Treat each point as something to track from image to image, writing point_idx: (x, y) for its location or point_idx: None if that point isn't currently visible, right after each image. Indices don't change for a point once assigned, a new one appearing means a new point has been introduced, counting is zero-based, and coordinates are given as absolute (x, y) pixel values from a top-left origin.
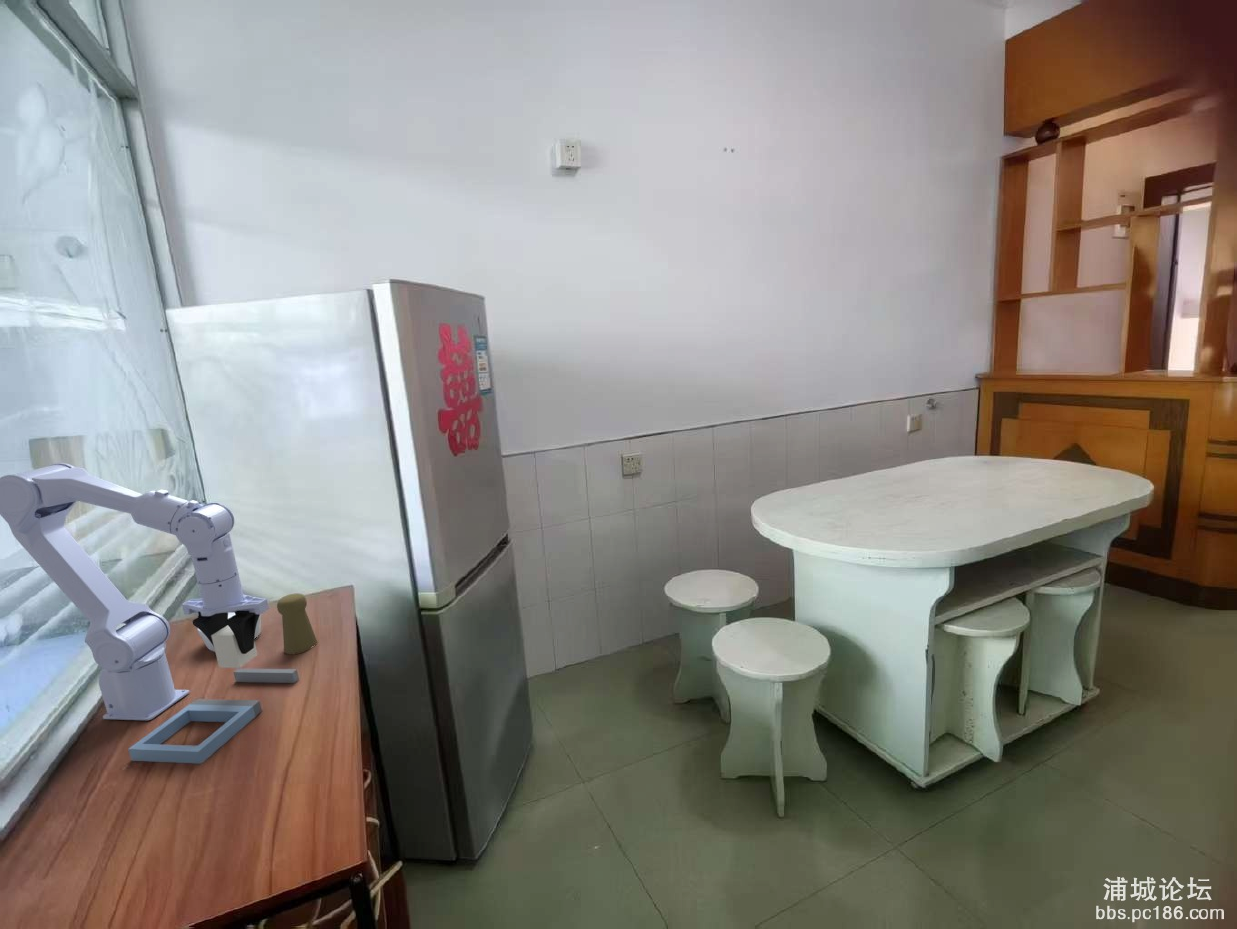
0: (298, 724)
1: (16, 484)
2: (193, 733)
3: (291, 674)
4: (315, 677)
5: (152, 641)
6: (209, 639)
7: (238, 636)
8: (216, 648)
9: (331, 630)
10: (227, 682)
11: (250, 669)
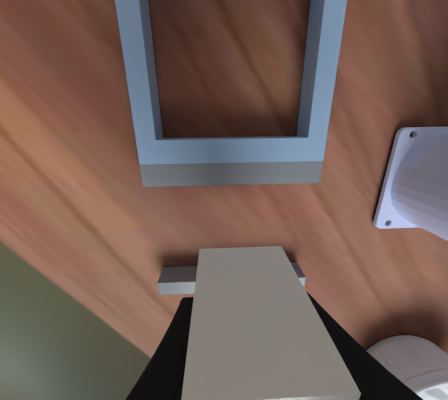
0: (15, 140)
1: None
2: (252, 92)
3: (161, 280)
4: (134, 284)
5: None
6: (368, 357)
7: (149, 396)
8: (301, 305)
9: None
10: (314, 259)
11: None
